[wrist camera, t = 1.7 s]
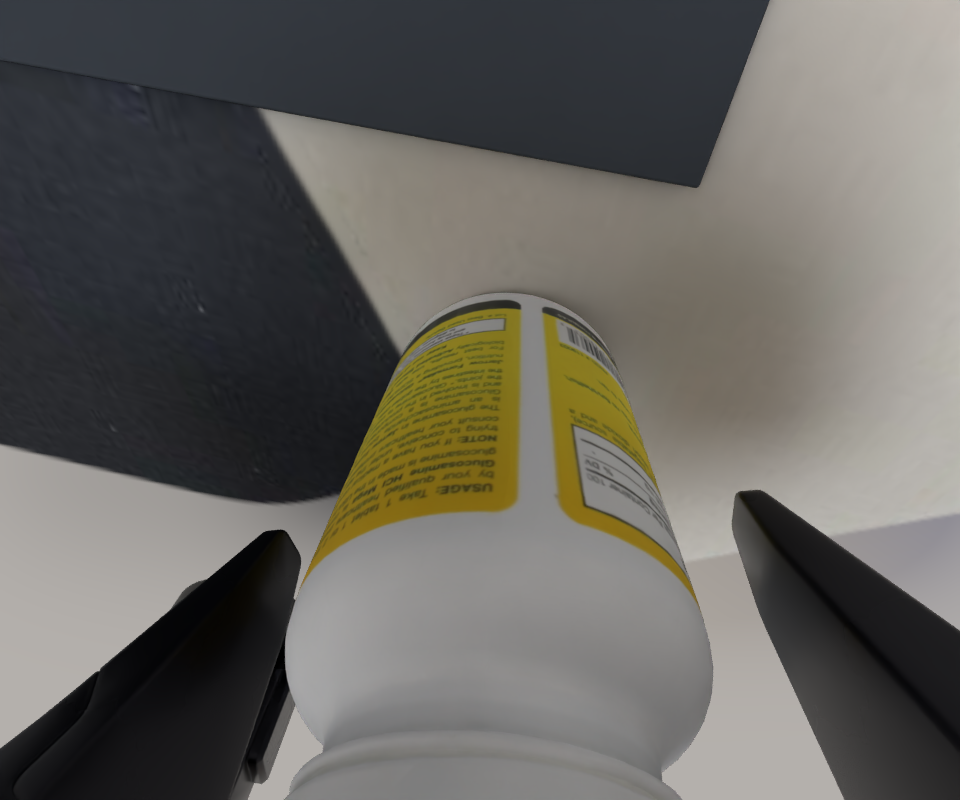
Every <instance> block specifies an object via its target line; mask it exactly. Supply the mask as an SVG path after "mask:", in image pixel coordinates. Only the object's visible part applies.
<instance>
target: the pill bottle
mask: <svg viewBox="0 0 960 800" xmlns="http://www.w3.org/2000/svg"><path fill="white" fill-rule="evenodd" d="M285 667H286V674H287V680H288V684H289V688H290V692H291V695H292V697H293V700H294V702H295V705H296V707H297V709H298V712H299V713H300V715H301V717H302V719H303V721H304V722H305V724H306V725H307V727H308V728H309V730H310V731H311V733H312V734H313V735H314V736H315V737H316V739H317V740H318V741H319V742H320V743H322V745H323V753H321V754H319V755H317V756H315V757H314V758H312V759H311V760H310V761H309V762H307V763H306V764H305V765H304V766H303V767H302V768H301V769H300V770H299V772H298V773H297V774H296V775H295V777H294V779H293V780H292V782H291V786H290V792H289V795H288V796H287V797H286V798H285V799H284V800H682V799H681V798H680V796H679V795H678V794H677V793H676V792H675V791H674V790H673V789H672V788H670V787H669V786H668V785H666V784H665V783H663V782H662V772H663V771H664V770H666V769H667V768H668V767H669V766H671V765H672V764H673V763H674V762H676V761H677V760H678V759H679V758H680V757H681V755H682V754H683V753H684V752H685V751H686V750H687V748H688V747H689V746H690V745H691V743H692V742H693V740H694V738H695V737H696V735H697V733H698V731H699V730H700V728H701V726H702V724H703V722H704V719H705V716H706V713H707V709H708V706H709V703H710V699H711V694H712V681H713V663H712V657H711V649H710V642H709V639H708V635H707V632H706V628H705V624H704V620H703V617H702V614H701V611H700V607H699V605H698V602H697V599H696V596H695V593H694V590H693V588H692V584H691V581H690V578H689V576H688V573H687V571H686V568H685V565H684V561H683V558H682V555H681V552H680V550H679V547H678V544H677V541H676V539H675V536H674V533H673V530H672V527H671V524H670V521H669V518H668V515H667V513H666V510H665V506H664V503H663V500H662V498H661V495H660V492H659V489H658V486H657V483H656V479H655V476H654V474H653V471H652V468H651V465H650V462H649V460H648V456H647V453H646V451H645V448H644V445H643V442H642V439H641V436H640V433H639V430H638V427H637V424H636V421H635V418H634V415H633V413H632V410H631V406H630V402H629V400H628V397H627V395H626V392H625V389H624V385H623V382H622V379H621V377H620V374H619V372H618V370H617V367H616V365H615V362H614V360H613V357H612V355H611V353H610V351H609V349H608V348H607V346H606V344H605V343H604V341H603V340H602V339H601V337H600V336H599V334H598V333H597V332H596V331H595V330H594V329H593V328H592V327H591V326H590V325H589V324H588V323H587V322H585V321H584V320H583V319H582V318H581V317H579V316H578V315H576V314H575V313H574V312H572V311H570V310H569V309H567V308H565V307H564V306H561V305H559V304H557V303H555V302H552V301H550V300H547V299H544V298H540V297H537V296H532V295H527V294H519V293H491V294H484V295H479V296H474V297H471V298H468V299H465V300H462V301H459V302H457V303H455V304H453V305H451V306H449V307H447V308H445V309H444V310H442V311H440V312H439V313H438V314H436V315H435V316H433V317H432V318H431V319H430V320H428V321H427V322H426V323H425V324H424V325H423V326H422V327H421V328H420V329H419V330H418V331H417V333H416V334H415V335H414V336H413V338H412V339H411V340H410V342H409V343H408V345H407V347H406V348H405V350H404V352H403V354H402V356H401V358H400V360H399V362H398V364H397V366H396V368H395V371H394V373H393V376H392V378H391V380H390V382H389V385H388V387H387V389H386V392H385V394H384V396H383V398H382V401H381V403H380V405H379V407H378V409H377V412H376V414H375V417H374V419H373V421H372V423H371V425H370V428H369V430H368V432H367V434H366V436H365V438H364V441H363V443H362V445H361V448H360V450H359V452H358V454H357V457H356V459H355V461H354V464H353V466H352V468H351V471H350V473H349V475H348V478H347V480H346V482H345V484H344V487H343V489H342V491H341V493H340V496H339V498H338V500H337V503H336V505H335V507H334V510H333V512H332V514H331V517H330V519H329V522H328V524H327V526H326V529H325V531H324V533H323V536H322V538H321V540H320V543H319V545H318V547H317V550H316V552H315V554H314V557H313V559H312V561H311V564H310V566H309V568H308V571H307V573H306V575H305V577H304V580H303V582H302V585H301V587H300V590H299V592H298V595H297V598H296V601H295V604H294V608H293V611H292V614H291V618H290V621H289V624H288V628H287V634H286V640H285Z"/></svg>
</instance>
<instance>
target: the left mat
mask: <svg viewBox="0 0 960 800" xmlns="http://www.w3.org/2000/svg"><path fill="white" fill-rule="evenodd" d="M769 1H770V0H0V60H1V61H6V62H12V63H17V64H23V65H28V66H34V67H39V68H45V69H50V70H56V71H61V72H66V73H72V74H77V75H83V76H88V77H94V78H99V79H105V80H110V81H116V82H121V83H126V84H132V85H137V86H143V87H148V88H154V89H159V90H165V91H170V92H176V93H181V94H186V95H192V96H197V97H203V98H208V99H214V100H219V101H225V102H230V103H236V104H241V105H246V106H252V107H257V108H263V109H268V110H274V111H279V112H285V113H290V114H296V115H301V116H306V117H312V118H317V119H323V120H328V121H334V122H339V123H345V124H350V125H355V126H361V127H366V128H372V129H377V130H383V131H388V132H394V133H399V134H405V135H410V136H415V137H421V138H426V139H432V140H437V141H443V142H448V143H454V144H459V145H465V146H470V147H475V148H481V149H486V150H492V151H497V152H503V153H508V154H514V155H519V156H525V157H530V158H535V159H541V160H546V161H552V162H557V163H563V164H568V165H574V166H579V167H585V168H590V169H595V170H601V171H606V172H612V173H617V174H623V175H628V176H634V177H639V178H645V179H650V180H655V181H661V182H666V183H672V184H677V185H683V186H688V187H694V188H697V187H699V185H700V183H701V180H702V178H703V175H704V172H705V170H706V167H707V164H708V162H709V159H710V157H711V154H712V151H713V149H714V146H715V143H716V141H717V138H718V135H719V133H720V130H721V127H722V125H723V122H724V120H725V117H726V114H727V112H728V109H729V106H730V104H731V101H732V98H733V96H734V93H735V90H736V88H737V85H738V83H739V80H740V77H741V75H742V72H743V69H744V67H745V64H746V61H747V59H748V56H749V53H750V51H751V48H752V46H753V43H754V40H755V38H756V35H757V32H758V30H759V27H760V24H761V22H762V19H763V16H764V14H765V11H766V9H767V6H768V3H769Z"/></svg>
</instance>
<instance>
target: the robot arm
mask: <svg viewBox="0 0 960 800" xmlns="http://www.w3.org/2000/svg"><path fill="white" fill-rule="evenodd" d="M732 530H733V535H734V538H735V541H736V544H737V547H738V550H739V553H740V556H741V559H742V562H743V565H744V568H745V571H746V574H747V578H748V581H749V584H750V587H751V589H752V593H753V596H754V599H755V602H756V605H757V608H758V610H759V613H760V616H761V618H762V620H763V623H764V625H765V628H766V630H767V632H768V634H769V636H770V639H771V641H772V643H773V645H774V647H775V649H776V651H777V654H778V656H779V658H780V660H781V663H782V665H783V667H784V669H785V671H786V673H787V676H788V678H789V680H790V682H791V684H792V686H793V689H794V691H795V693H796V695H797V697H798V699H799V702H800V704H801V706H802V708H803V710H804V713H805V715H806V717H807V719H808V721H809V724H810V726H811V728H812V730H813V732H814V734H815V736H816V739H817V741H818V743H819V745H820V747H821V749H822V752H823V754H824V756H825V758H826V760H827V763H828V765H829V767H830V769H831V771H832V774H833V776H834V778H835V780H836V782H837V784H838V787H839V789H840V791H841V793H842V795H843V797H844V800H960V631H959V630H958V629H956V628H955V627H954V626H952V625H951V624H950V623H948V622H947V621H945V620H944V619H943V618H941V617H940V616H938V615H937V614H936V613H934V612H933V611H931V610H930V609H929V608H927V607H925V606H924V605H923V604H922V603H920V602H919V601H917V600H916V599H914V598H913V597H912V596H910V595H909V594H907V593H906V592H905V591H903V590H902V589H900V588H899V587H898V586H896V585H895V584H893V583H892V582H891V581H889V580H888V579H886V578H885V577H883V576H882V575H881V574H879V573H878V572H877V571H875V570H874V569H872V568H871V567H869V566H868V565H866V564H865V563H864V562H862V561H861V560H860V559H858V558H857V557H855V556H854V555H853V554H851V553H849V552H848V551H847V550H845V549H844V548H843V547H841V546H839V544H837V543H836V542H834V541H833V540H832V539H830V538H829V537H827V536H826V535H824V534H823V533H822V532H820V531H819V530H817V529H816V528H815V527H813V526H812V525H810V524H809V523H808V522H806V521H805V520H803V519H802V518H801V517H799V516H798V515H796V514H795V513H794V512H792V511H791V510H789V509H788V508H787V507H785V506H784V505H782V504H781V503H779V502H778V501H777V500H775V499H774V498H772V497H771V496H770V495H768V494H767V493H765V492H764V491H761V490H749V491H740V492H738V493H736V495H735V500H734V509H733V517H732ZM300 566H301V557H300V554H299V552H298V550H297V548H296V547H295V545H294V543H293V542H292V540H291V538H290V537H289V535H288V533H287V532H286V531H284V530H271V531H266V532H263V533H262V534H261V535H260V536H258V537H257V538H256V539H255V540H254V541H252V542H251V543H250V544H249V545H248V546H247V547H245V548H244V549H243V550H242V551H241V552H239V553H238V554H237V555H236V556H235V557H233V558H232V559H231V560H230V561H229V562H227V563H226V564H225V565H224V566H223V567H221V568H220V569H219V570H218V571H216V573H214V574H213V575H212V576H210V577H209V578H208V579H207V580H206V581H205V582H203V583H202V584H201V585H200V586H199V587H197V588H196V589H195V590H194V591H193V592H191V593H190V594H189V595H188V596H187V597H185V598H184V599H183V600H182V601H181V602H179V603H178V604H177V605H176V606H175V607H173V608H172V609H171V610H170V611H169V612H167V613H166V614H165V615H164V616H162V617H161V618H160V619H159V620H158V621H157V622H155V623H154V624H153V625H152V626H151V627H149V628H148V629H147V630H146V631H145V632H143V633H142V634H141V635H140V636H139V637H137V638H136V639H135V640H134V641H133V642H132V643H130V644H129V645H128V646H127V647H125V648H124V649H123V650H122V651H121V652H119V653H118V654H117V655H116V656H115V657H113V658H112V659H111V660H110V661H109V662H108V663H106V664H105V665H104V666H103V667H102V668H101V669H100V671H97V672H95V673H94V674H93V675H92V676H91V677H89V678H88V679H87V680H86V681H85V682H83V683H82V684H81V685H80V686H79V687H77V688H76V689H75V690H74V691H73V692H71V693H70V694H69V695H68V696H66V697H65V698H64V699H63V700H62V701H60V702H59V703H58V704H57V705H55V706H54V707H53V708H52V709H50V710H49V711H48V712H47V713H46V714H44V715H43V716H42V717H41V718H40V719H38V720H37V721H35V722H34V723H33V724H31V725H30V726H29V727H28V728H26V729H25V730H24V731H22V732H21V733H20V734H19V735H17V736H16V737H15V738H13V739H12V740H11V741H9V742H8V743H7V744H6V745H4V746H3V747H2V748H0V800H248V797H249V794H250V792H251V789H252V787H253V784H254V783H260V784H262V783H264V782H265V781H266V780H267V779H268V777H269V775H270V772H271V769H272V767H273V764H274V761H275V759H276V756H277V753H278V750H279V748H280V745H281V742H282V740H283V737H284V734H285V732H286V729H287V726H288V724H289V721H290V718H291V715H292V712H293V710H294V707H295V702H294V700H293V697H292V695H291V692H290V688H289V684H288V680H287V674H286V667H285V640H286V636H285V631H286V627H287V623H288V619H289V615H290V610H291V606H292V602H293V597H294V593H295V589H296V584H297V580H298V576H299V571H300Z"/></svg>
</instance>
